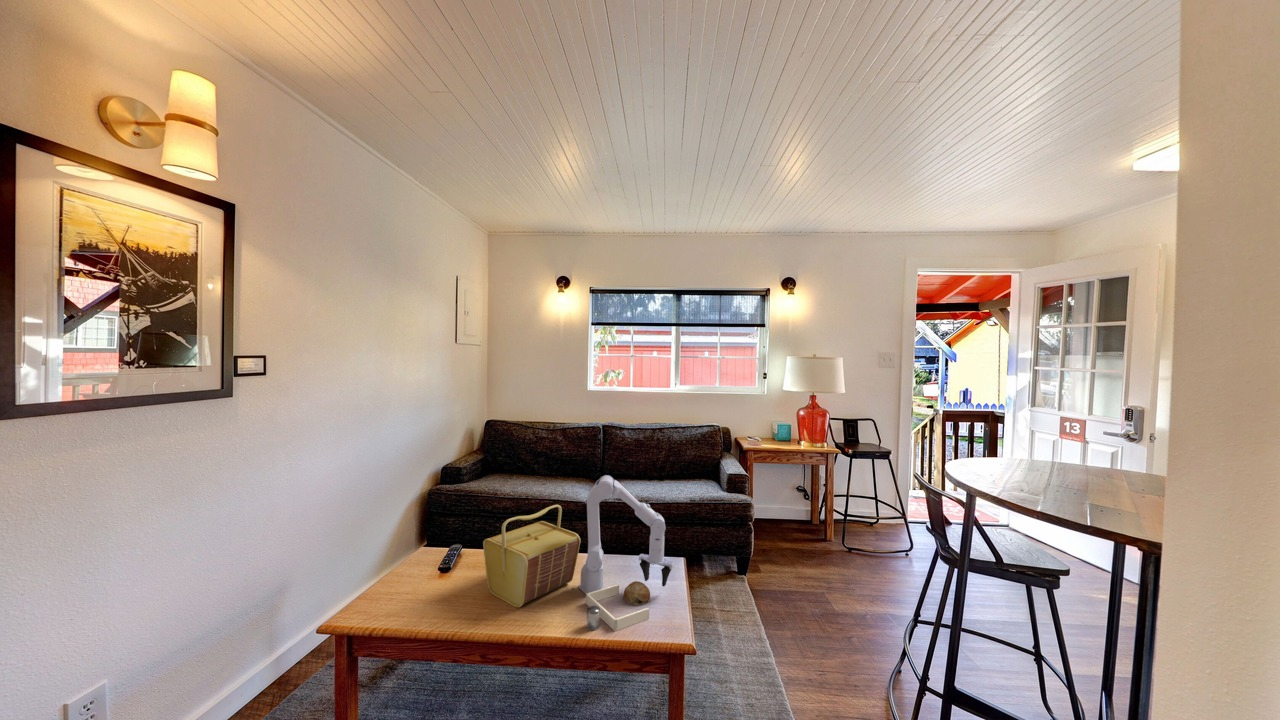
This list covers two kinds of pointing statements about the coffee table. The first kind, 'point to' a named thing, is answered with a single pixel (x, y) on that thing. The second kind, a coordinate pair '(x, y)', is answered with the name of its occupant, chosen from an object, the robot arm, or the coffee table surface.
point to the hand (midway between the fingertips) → (655, 582)
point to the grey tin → (593, 618)
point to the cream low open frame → (607, 617)
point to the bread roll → (637, 593)
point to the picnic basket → (530, 559)
